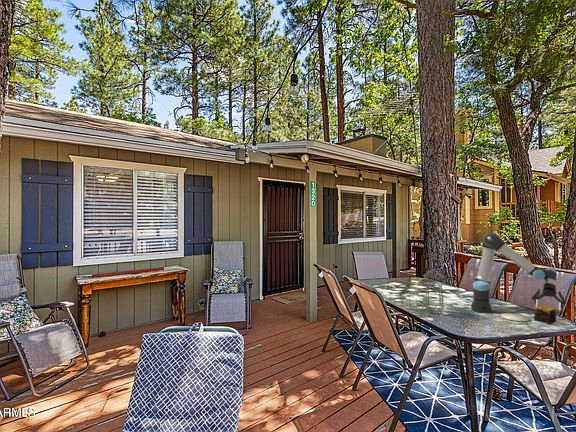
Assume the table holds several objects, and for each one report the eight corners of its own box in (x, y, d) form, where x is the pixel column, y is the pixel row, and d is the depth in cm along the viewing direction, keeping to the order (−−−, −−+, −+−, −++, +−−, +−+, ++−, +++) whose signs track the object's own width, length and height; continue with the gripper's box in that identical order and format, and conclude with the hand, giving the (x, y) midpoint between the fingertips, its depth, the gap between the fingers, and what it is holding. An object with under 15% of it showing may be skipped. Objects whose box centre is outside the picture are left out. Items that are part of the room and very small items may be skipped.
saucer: (495, 316, 253) (495, 315, 253) (508, 313, 262) (508, 312, 262) (521, 323, 237) (521, 321, 237) (534, 319, 246) (534, 318, 246)
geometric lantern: (425, 314, 261) (423, 270, 263) (424, 309, 276) (423, 267, 277) (446, 315, 256) (445, 270, 257) (444, 310, 271) (443, 268, 272)
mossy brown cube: (549, 324, 235) (549, 310, 235) (533, 320, 244) (533, 307, 244) (556, 322, 240) (556, 308, 240) (540, 318, 249) (540, 305, 249)
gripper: (571, 291, 248) (570, 315, 237) (530, 286, 265) (527, 308, 254) (570, 285, 244) (569, 309, 233) (529, 280, 261) (526, 303, 250)
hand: (547, 309), depth 244 cm, fingers open, 13 cm apart
